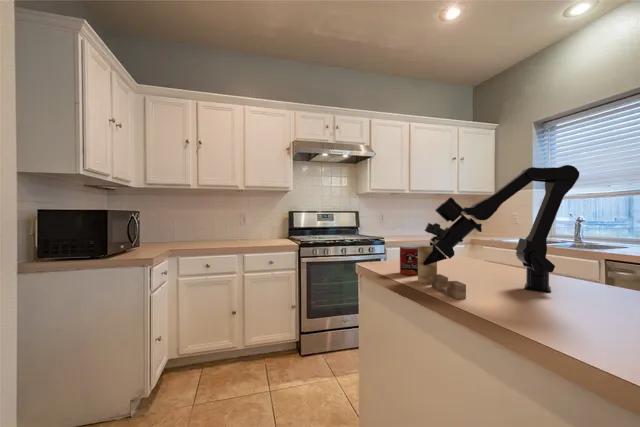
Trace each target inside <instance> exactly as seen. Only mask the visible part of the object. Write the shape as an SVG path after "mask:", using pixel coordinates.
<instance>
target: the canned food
mask: <svg viewBox="0 0 640 427" xmlns="http://www.w3.org/2000/svg"><path fill="white" fill-rule="evenodd" d="M399 272H400V274H401V275H403V276H408V277H409V276H410V277H412V276H413V277H414V276H415V277H416V276H417V277H418V244H417V245H416V244H402V245H401V244H400V245H399Z"/></svg>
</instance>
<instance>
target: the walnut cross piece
mask: <svg viewBox="0 0 640 427" xmlns="http://www.w3.org/2000/svg"><path fill="white" fill-rule="evenodd" d="M431 288H434V289H436V291H439V292H441V293H443V294H445V295H447V296H449V297H451V298H453V299H455V300H466V299H467V284H465V283H462V282H461V281H459V280H449V276H445V275H443V274H441V273H440V274H439V273H437V274H432V283H431Z"/></svg>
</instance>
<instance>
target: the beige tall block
mask: <svg viewBox="0 0 640 427" xmlns="http://www.w3.org/2000/svg"><path fill="white" fill-rule="evenodd" d="M417 246H418V275H417V282H418V283H424V284H426V283H427V284H432V274H438V262H434V263H431V264H428V265H424V264H423V262H424V261H425V259H426V258H427V257H428V256H429V254H430V253H431V252H432V246H430V245H419V244H417ZM435 247H437V246H435Z"/></svg>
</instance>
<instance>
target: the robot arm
mask: <svg viewBox="0 0 640 427" xmlns="http://www.w3.org/2000/svg"><path fill="white" fill-rule="evenodd" d="M579 178H580V171H579V170H578V168H576V167H575V166H573V165H570V164H564V165H561V166H558V167H535V166H534V167H533V166H531V167H528V168H525V169H523V170H522V171H521V172H520V173H519V174H518V175H517V176H515V177H514V178H513V179H511V180H510V181H509V182H507V183H506V184H505V185H503V186H502V187H500V188H499V189H498V190H497V191H495V192H494V193H493V194H491V195H490V196H488V197H486V198H483V199H481V200H479V201H477V202H475V203H473V204H472V205H471V206H470V207H467V206H464V207H462V206H461V205H459V203H458V202H456V201H455V199H454V198H453V197H448V199H446V200H445V201H444V202H442V203H441V204H440V205H438V206H437V207H436V208H435V210H434V211H435V212H436V213H437V214H438V215H439V216H440V217H441V218H442V219H443V220H445V222H447V223H448V222H451V223H452V224H451V225H450V226H449V227H445V228H444V229H443V228H441V224H439V223H437V222H435V223H433V224H432V223H431V222H428V223H427V225H426V227H425V229H424V232H426V233H428V234H432V235H433V236H432V237H431V238H430V239H429V246H432V252H431V253H430V254H429V256H428V257H427V258H426V259H425V261H424V262H423V264H424V265H428V264H431V263H434V262H437V263H438V262H440V261H443V260H448V259H452V258H453V257H454V256H455V250H454V247H456V246H457V245H458V244H459V243H462V242H463V241H464V239H465V238H466V237H467V236H468V235H469V234H470V233H472V232H473V231H474V230H475V231H477V232H478V233H481V232H483V230H482V226H483V224H482V223H477V222H476V220H477V221H486V220H488V219H490V218H491V217H492V216H493V215H494V214H495V213H496V212H497V210H499V208H500V207H501V206H502V204H503V203H505V202H507V201H508V200H509V199H511V198H512V197H513V196H514V195H516V194H517V193H519V191H521V190H522V189H524V188H525V187H526V186H528V185H529V184H531V183H532V182H539V183H544V190H545V192H544V193H545V194H544V196H543V198H542V202H541V204H540V206H539V209H538V211H537V214H536V217H535V218H534V221H533V224H532V226H531V229H530V232H529V234H528V236H526V238H521V237H520V238H519V240H518V243H517V246H516V247H515V248H514V250H516V252H515V256H516V258H517V259H518V260H519V261H520V262H522V265H523V267H525V268H526V274H525V275H526V278H525V279H526V280H525V282H526V283H525V284H524V289H525V290H530V291H539V292H547V293H552V287H551V286H550V273H554V270H555V268H556V265H555V264H554V263H553V262H551V261H550V260H549V259H548V258H547V252H548V243H547V239H548V237H549V234H550V232H551V229H552V226H553V223H554V222H555V220H556V217H557V214H558V212H559V209H560V207H561V204H562V202H563V200H564V197H565V196H566V195H567V194H568V193H569V192H570V190H572V188H574V186H575V184H576V183H577V181H578V179H579ZM466 216H470V217H469V218H467V217H466ZM435 246H437V247H435Z"/></svg>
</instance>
